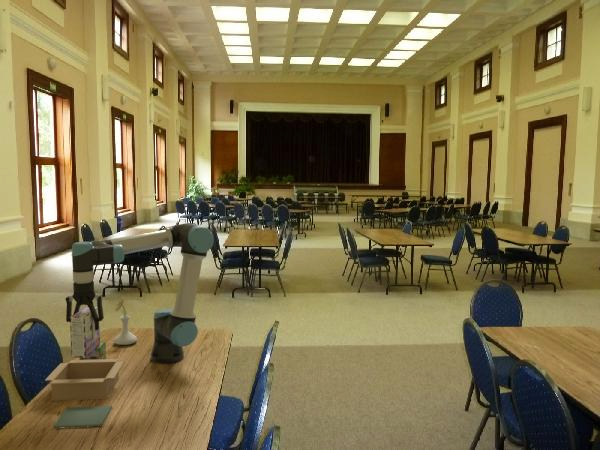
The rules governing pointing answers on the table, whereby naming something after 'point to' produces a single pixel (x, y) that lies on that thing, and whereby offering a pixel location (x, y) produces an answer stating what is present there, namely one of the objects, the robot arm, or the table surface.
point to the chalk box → (97, 353)
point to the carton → (84, 379)
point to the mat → (83, 416)
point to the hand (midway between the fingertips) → (85, 338)
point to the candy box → (83, 333)
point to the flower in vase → (124, 328)
